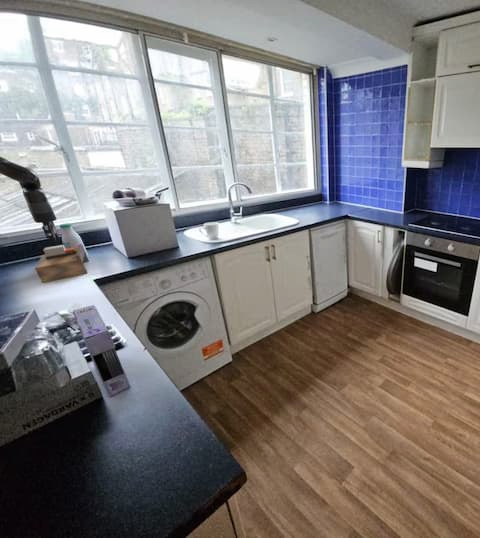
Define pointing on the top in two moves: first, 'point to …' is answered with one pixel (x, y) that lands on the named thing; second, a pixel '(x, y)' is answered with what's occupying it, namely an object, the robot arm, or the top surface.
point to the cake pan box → (101, 349)
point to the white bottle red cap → (58, 251)
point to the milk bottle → (71, 237)
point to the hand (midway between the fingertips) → (56, 244)
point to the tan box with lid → (62, 266)
